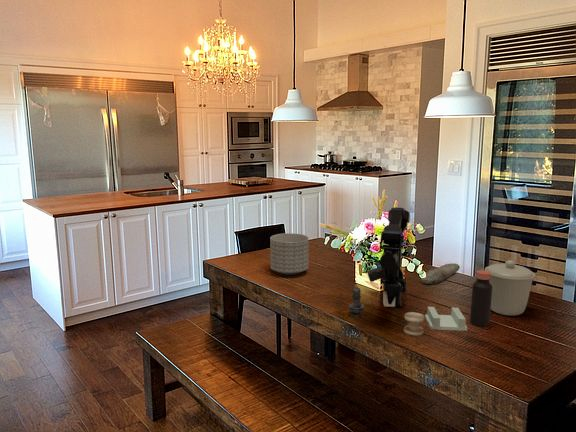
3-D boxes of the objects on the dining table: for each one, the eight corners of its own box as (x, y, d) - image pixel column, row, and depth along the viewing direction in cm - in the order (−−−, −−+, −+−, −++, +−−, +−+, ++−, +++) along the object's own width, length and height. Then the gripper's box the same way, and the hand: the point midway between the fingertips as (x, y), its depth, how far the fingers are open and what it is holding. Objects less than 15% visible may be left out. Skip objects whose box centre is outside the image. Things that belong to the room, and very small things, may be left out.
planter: (308, 278, 230) (308, 242, 226) (269, 278, 230) (269, 242, 226) (307, 267, 248) (308, 233, 245) (271, 266, 249) (271, 233, 245)
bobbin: (402, 327, 176) (403, 311, 174) (421, 327, 175) (422, 312, 174) (405, 335, 169) (405, 319, 168) (425, 336, 168) (426, 320, 167)
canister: (532, 307, 194) (537, 258, 190) (529, 323, 178) (534, 270, 174) (485, 299, 203) (489, 251, 199) (478, 314, 188) (482, 262, 183)
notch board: (424, 317, 184) (425, 306, 184) (459, 318, 183) (460, 307, 182) (430, 329, 174) (431, 318, 173) (467, 330, 173) (468, 319, 172)
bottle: (477, 327, 175) (482, 275, 171) (466, 320, 182) (469, 270, 178) (493, 325, 177) (497, 274, 173) (481, 318, 183) (485, 268, 179)
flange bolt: (353, 310, 191) (354, 281, 189) (366, 313, 188) (367, 285, 185) (345, 314, 187) (346, 285, 185) (358, 318, 183) (359, 289, 181)
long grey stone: (464, 272, 244) (445, 269, 250) (465, 262, 243) (446, 260, 250) (436, 286, 217) (415, 283, 224) (436, 275, 217) (416, 272, 223)
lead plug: (383, 302, 182) (383, 288, 181) (393, 302, 182) (394, 289, 181) (384, 306, 178) (384, 292, 177) (394, 306, 178) (395, 292, 177)
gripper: (367, 254, 187) (365, 292, 190) (370, 269, 168) (369, 310, 171) (396, 255, 186) (394, 293, 189) (402, 270, 167) (400, 311, 170)
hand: (389, 301), depth 180 cm, fingers closed on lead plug, 4 cm apart
